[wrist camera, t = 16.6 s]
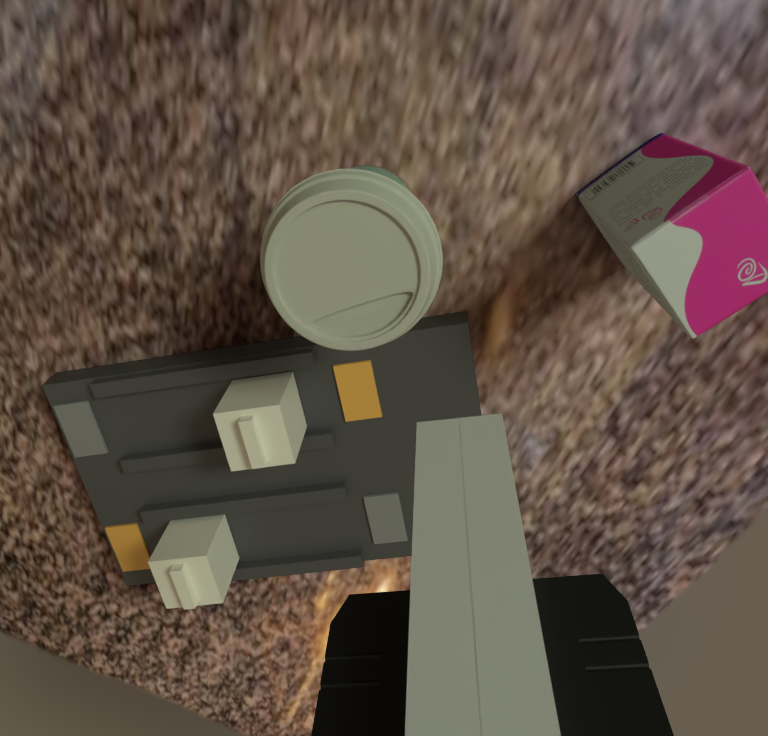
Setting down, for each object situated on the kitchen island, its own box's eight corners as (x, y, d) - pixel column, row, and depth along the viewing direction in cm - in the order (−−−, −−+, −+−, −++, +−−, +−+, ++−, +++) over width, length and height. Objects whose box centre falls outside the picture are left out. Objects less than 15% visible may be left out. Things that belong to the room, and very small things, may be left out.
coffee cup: (286, 265, 44) (239, 339, 33) (310, 124, 40) (266, 154, 29) (420, 296, 44) (417, 380, 33) (455, 159, 40) (465, 202, 29)
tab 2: (170, 519, 50) (143, 569, 45) (224, 513, 49) (202, 562, 44) (187, 563, 51) (162, 616, 47) (239, 558, 51) (220, 610, 46)
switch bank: (56, 372, 48) (35, 390, 45) (466, 311, 44) (468, 327, 42) (136, 567, 54) (122, 593, 52) (497, 528, 51) (500, 553, 48)
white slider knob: (232, 380, 45) (209, 419, 40) (293, 371, 44) (276, 410, 40) (248, 433, 46) (228, 478, 42) (307, 426, 46) (293, 469, 41)
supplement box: (625, 271, 42) (689, 344, 32) (573, 192, 41) (622, 243, 30) (714, 212, 41) (812, 270, 30) (663, 128, 39) (748, 158, 29)
